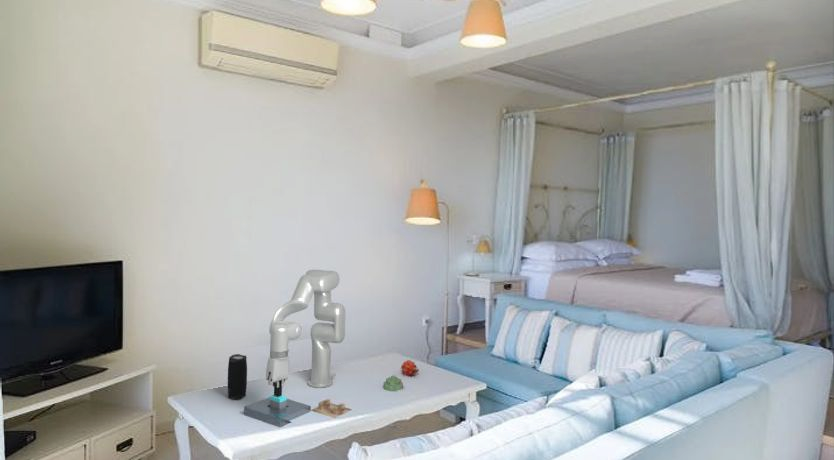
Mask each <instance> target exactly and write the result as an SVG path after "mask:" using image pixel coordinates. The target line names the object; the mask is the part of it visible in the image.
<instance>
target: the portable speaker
mask: <svg viewBox="0 0 834 460" xmlns="http://www.w3.org/2000/svg"><path fill="white" fill-rule="evenodd" d="M247 359H248V357H247V355H242V354H240V353H236V354H232V355H230V356H229V358H228V366H227V395H228V398H229V399H230V398H231V399H232V400H233V401H238V400H243V398H244V397H246V394H247V383H248V363H247V361H248V360H247Z"/></svg>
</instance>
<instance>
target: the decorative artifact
mask: <svg viewBox="0 0 834 460" xmlns="http://www.w3.org/2000/svg"><path fill="white" fill-rule="evenodd" d="M382 388H383V390H385V391H388V392H399V391H398V390H400V391H402V390H403V389H404V382H403V381H402V378H399V377H397V376H396V375H395V374H393V375H391V377H390V376H389V377H387V378H386V379H385V381H383V387H382ZM401 389H402V390H401Z"/></svg>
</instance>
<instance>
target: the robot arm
mask: <svg viewBox="0 0 834 460" xmlns="http://www.w3.org/2000/svg"><path fill="white" fill-rule="evenodd" d="M340 277H341V276H340V275H339V273H338V272H337V271H336V270H335V271H333V270H324V269H323V270H322V269H308V270H307V271H306V272H305V274H303V275H302V276H301V277H300V278H299V280H298V282H297V284H296V286H295V289H294V292H293V294H292V296H291V299H290V300H289V301H288V302H287V301H286V302H285V303H284V304H283V305H282V306H281V307H279V308H278V309H277V310H276V311H275V313H274V315H273V317H272V319H271V322H270V325H269V334H270V341H269V342H270V345H269V347H270V348H269V353H270V354H269V357H268V359H267V363H266V368H265V369H266V371H265V372H266V373H265V380H266V381H268V382H267V384H268V385H269V386H272V387H273V388H274V389H273V395H275V396H278V397H279V396H282V395H283V387H284V383H285V382H286V381H288V379H289V376H290V372H291V370H290V369H291V368H290V358H289V352H290V350H289V341H292V340H293V341H294V340H297V339H298V338H300V336H301V335H302V333H303V327H302V325H301V324H300V323H298V322H293V321H285V319H286V318H287V317H289V316H291V315H292V314H296V313H298V312H302V311H303V310H306V309H308V308H309V305H310V302H311V300H312V298H313V316H314V318H315V320H318V321H319V322H315V323H313V324H312V326H311V328H310V338H311V369H310V370H311V374H310V375H311V379H309V380H308V381H307V385H308V386H310V387H311V388H317V389H318V388H319V389H322V388H329V387H331V386H332V385H334V380H332V378H333V377H336V375H337V374H336V372H332V373H331V361H332V359H331V358H332V357H331V355H332V349H331V346H330V344H331V343H332V344H341V343H343V341H344V340H345V336H346V309H345V306H344V304H342V303H339V302H332V291H333V290H334V289H336V288H338V285H339V283H340V282H341V281H340ZM320 321H324V322H320ZM330 322H331V323H330Z"/></svg>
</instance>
